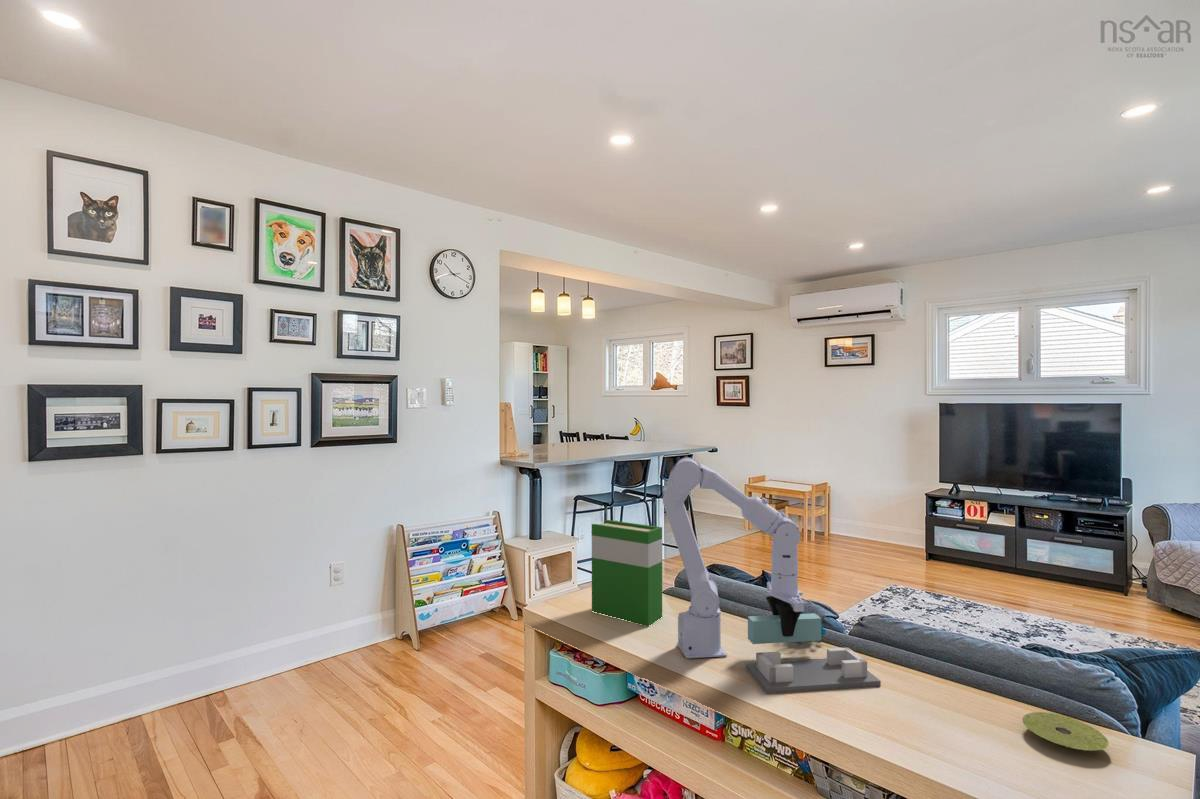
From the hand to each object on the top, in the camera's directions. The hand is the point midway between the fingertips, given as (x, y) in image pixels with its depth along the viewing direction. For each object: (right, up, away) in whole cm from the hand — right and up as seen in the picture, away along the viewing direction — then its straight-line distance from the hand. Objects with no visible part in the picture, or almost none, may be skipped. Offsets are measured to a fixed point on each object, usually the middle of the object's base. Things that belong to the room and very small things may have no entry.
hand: (784, 632), depth 129 cm
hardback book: (-34, -6, +25) cm, 43 cm away
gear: (+8, -6, +10) cm, 14 cm away
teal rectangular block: (0, -2, 0) cm, 2 cm away
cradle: (+2, -5, -10) cm, 11 cm away
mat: (+37, -5, -33) cm, 49 cm away
